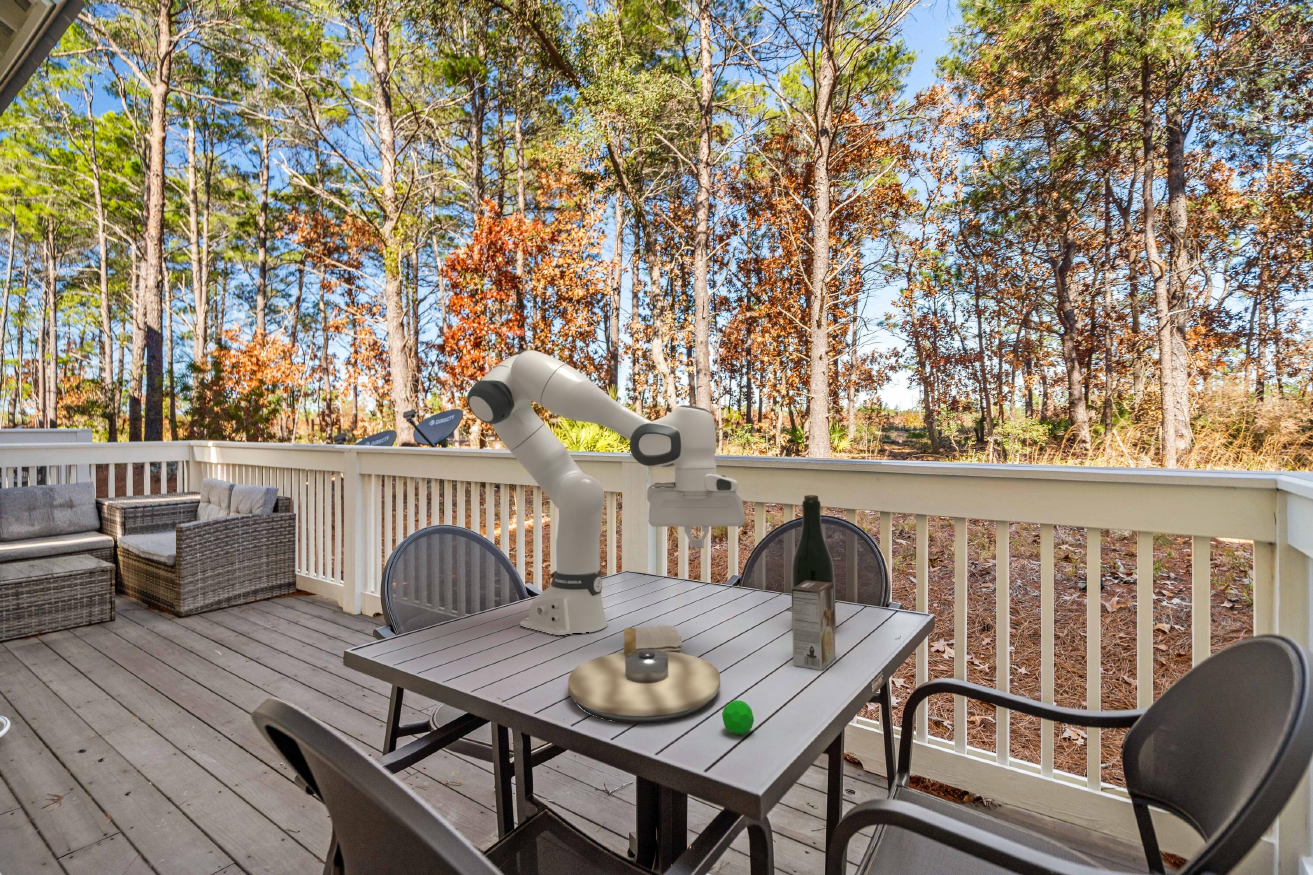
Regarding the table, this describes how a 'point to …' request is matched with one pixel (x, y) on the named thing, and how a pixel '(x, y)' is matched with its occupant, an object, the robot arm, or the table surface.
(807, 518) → the wine bottle
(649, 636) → the washcloth
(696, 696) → the turntable
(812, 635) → the coffee box
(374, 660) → the table surface
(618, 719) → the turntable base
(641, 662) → the iron cover
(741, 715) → the polyhedron
